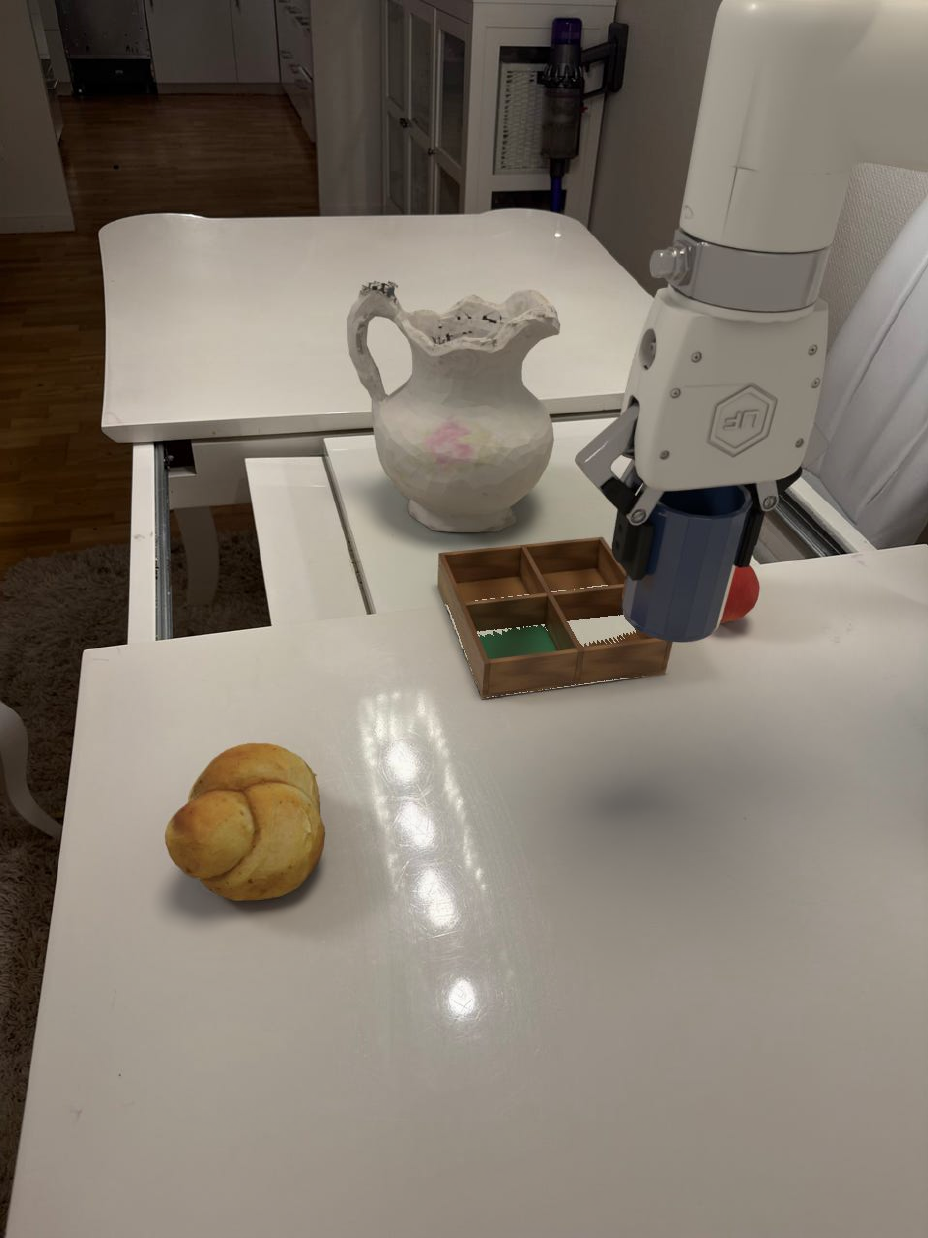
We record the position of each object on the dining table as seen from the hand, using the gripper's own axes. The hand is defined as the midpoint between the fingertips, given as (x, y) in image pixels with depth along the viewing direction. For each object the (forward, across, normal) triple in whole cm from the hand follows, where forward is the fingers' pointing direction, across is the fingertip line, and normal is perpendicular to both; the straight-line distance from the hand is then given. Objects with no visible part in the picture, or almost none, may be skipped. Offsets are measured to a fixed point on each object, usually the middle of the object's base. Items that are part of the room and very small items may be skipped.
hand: (681, 559), depth 58 cm
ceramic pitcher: (+22, -3, +45) cm, 50 cm away
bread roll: (+22, -28, +2) cm, 35 cm away
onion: (+22, +18, +19) cm, 34 cm away
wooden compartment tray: (+22, +1, +21) cm, 31 cm away
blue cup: (+4, 0, 0) cm, 4 cm away
